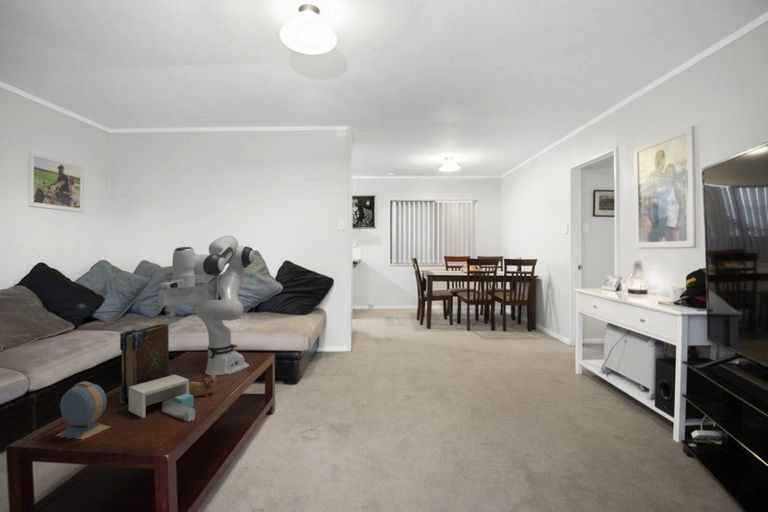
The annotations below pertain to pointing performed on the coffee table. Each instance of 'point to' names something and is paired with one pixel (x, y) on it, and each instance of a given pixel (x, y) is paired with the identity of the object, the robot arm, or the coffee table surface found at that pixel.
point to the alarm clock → (83, 410)
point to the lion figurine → (203, 384)
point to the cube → (185, 400)
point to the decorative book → (143, 357)
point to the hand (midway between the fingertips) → (183, 314)
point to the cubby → (156, 392)
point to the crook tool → (178, 410)
